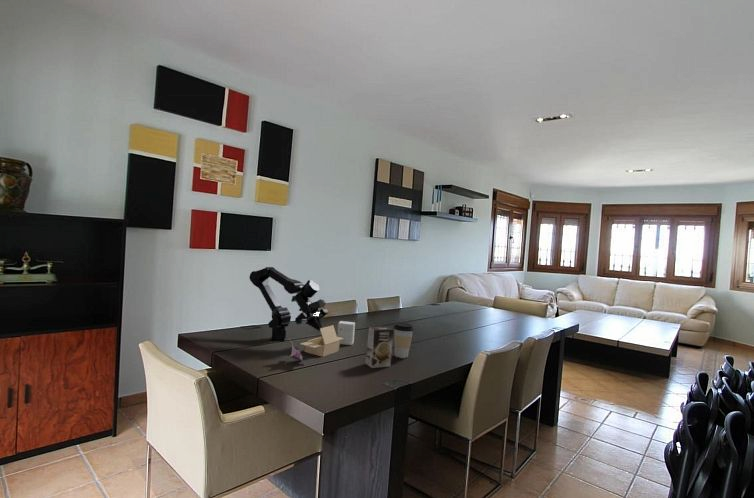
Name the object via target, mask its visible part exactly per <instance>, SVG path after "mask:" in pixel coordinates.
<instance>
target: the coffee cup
mask: <svg viewBox="0 0 754 498" xmlns="http://www.w3.org/2000/svg"><path fill="white" fill-rule="evenodd" d="M393 330H394V333H393V338H394V339H393V341H394V356H395V357H396V358H398V357H399V359H407V358H408V357H409V351H410V348H411V343H412V337H413V331H414V327H413V325H412V324H410V323H408V322H396V323H395V325H393ZM406 357H407V358H406Z"/></svg>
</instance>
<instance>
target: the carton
mask: <svg viewBox="0 0 754 498" xmlns="http://www.w3.org/2000/svg"><path fill="white" fill-rule="evenodd" d="M337 338H338V340H342V339H344V338H341V337H337ZM300 345H302V346H304V353H308V354H311V355H315V356H319V357H322V358H323V357H326V356H329V355H331V354H334V353H337V352H340V345H341V344H340V341H336V342H333V343H329V344H326V345H325V344H324V341H323V338H322V336H320V337H315V338H313V339H308V340H306V341H304V342H301V343H300Z"/></svg>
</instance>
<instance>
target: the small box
mask: <svg viewBox="0 0 754 498" xmlns="http://www.w3.org/2000/svg"><path fill="white" fill-rule="evenodd" d="M355 329H356V322H355V321H346V320H345V321H344V320H340V321H339V322H338V323H337V332H336V335H337V337H341V338H344V339H342V340H338V341H340V345H345V346H353V344H354V343H355V332H356V331H355Z"/></svg>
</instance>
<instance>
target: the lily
mask: <svg viewBox="0 0 754 498" xmlns="http://www.w3.org/2000/svg"><path fill="white" fill-rule="evenodd" d="M289 341H290V342H291V354H290V356H289V357H288V359H287V360H286V361H285V365H286V364H287V362H288V361H289V359H290V358H291V357H294V358H298V359H299V360H301V362H302V364H304V366H305V365H306V364H305V362H304V361H303V355H302V353H301V350H299V349H296V348H295V346H294V344H293V341H292V340H291V339H289Z"/></svg>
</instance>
